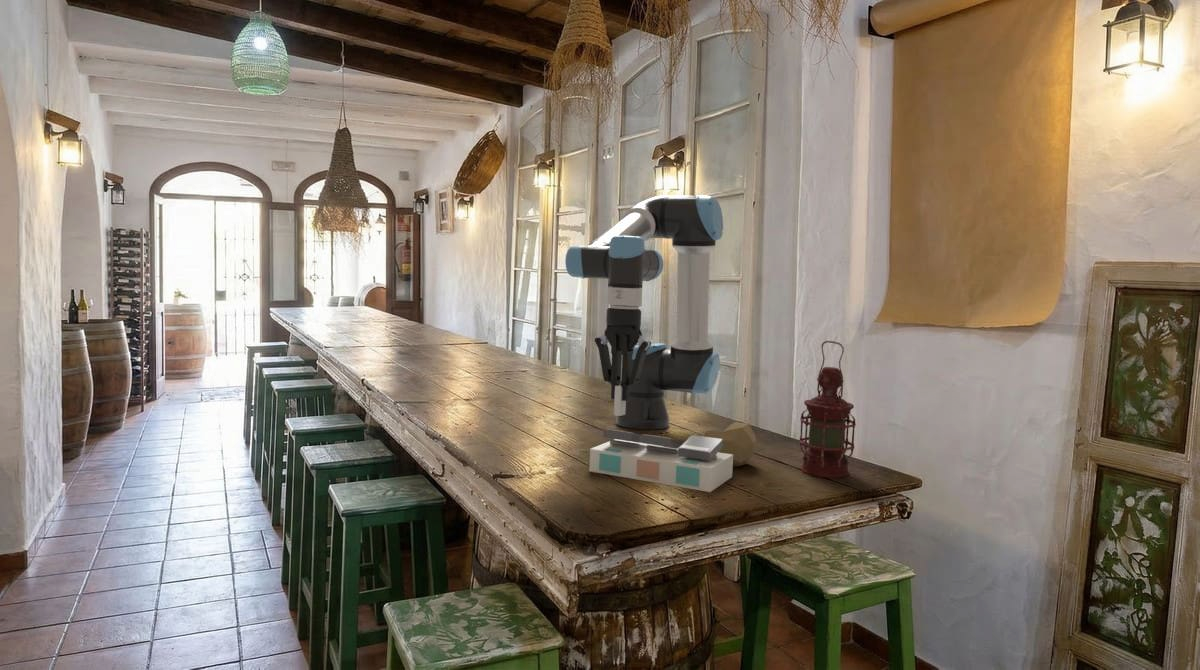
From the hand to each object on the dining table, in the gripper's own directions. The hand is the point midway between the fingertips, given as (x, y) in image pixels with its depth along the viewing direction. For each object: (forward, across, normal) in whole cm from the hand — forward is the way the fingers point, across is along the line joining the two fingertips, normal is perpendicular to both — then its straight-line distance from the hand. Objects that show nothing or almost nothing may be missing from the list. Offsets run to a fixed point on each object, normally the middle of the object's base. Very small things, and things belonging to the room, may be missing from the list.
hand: (619, 414), depth 175 cm
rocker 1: (+5, 0, +3) cm, 6 cm away
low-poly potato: (+13, +18, +21) cm, 30 cm away
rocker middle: (+5, +9, +3) cm, 11 cm away
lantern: (+13, +39, +27) cm, 50 cm away
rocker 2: (+5, +18, +3) cm, 19 cm away
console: (+13, +9, +4) cm, 16 cm away
